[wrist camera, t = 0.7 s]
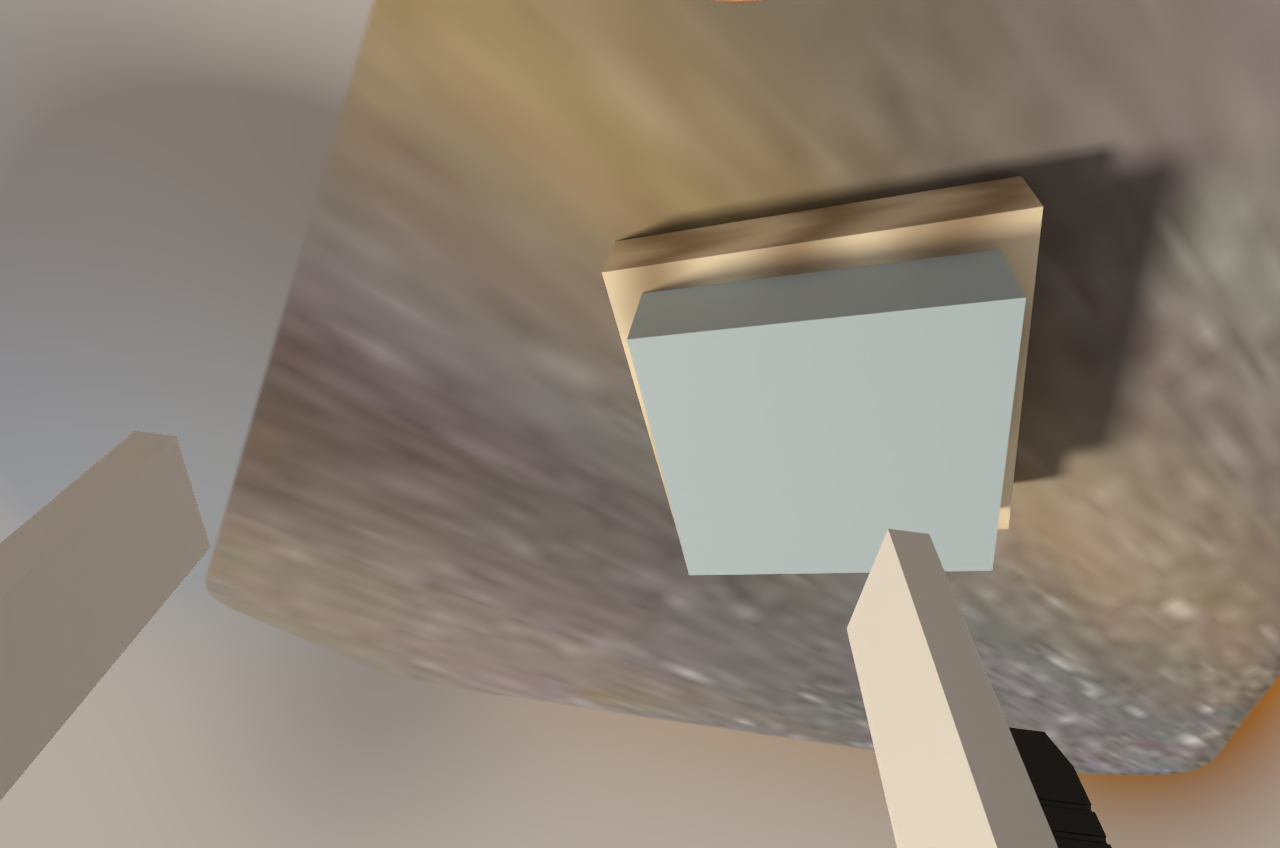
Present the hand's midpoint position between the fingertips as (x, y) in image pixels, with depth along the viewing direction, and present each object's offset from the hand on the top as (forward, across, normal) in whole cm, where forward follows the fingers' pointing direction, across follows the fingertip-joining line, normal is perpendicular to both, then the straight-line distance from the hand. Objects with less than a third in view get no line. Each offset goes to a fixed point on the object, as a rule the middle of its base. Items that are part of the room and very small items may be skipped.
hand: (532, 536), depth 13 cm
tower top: (+20, +11, -8) cm, 24 cm away
